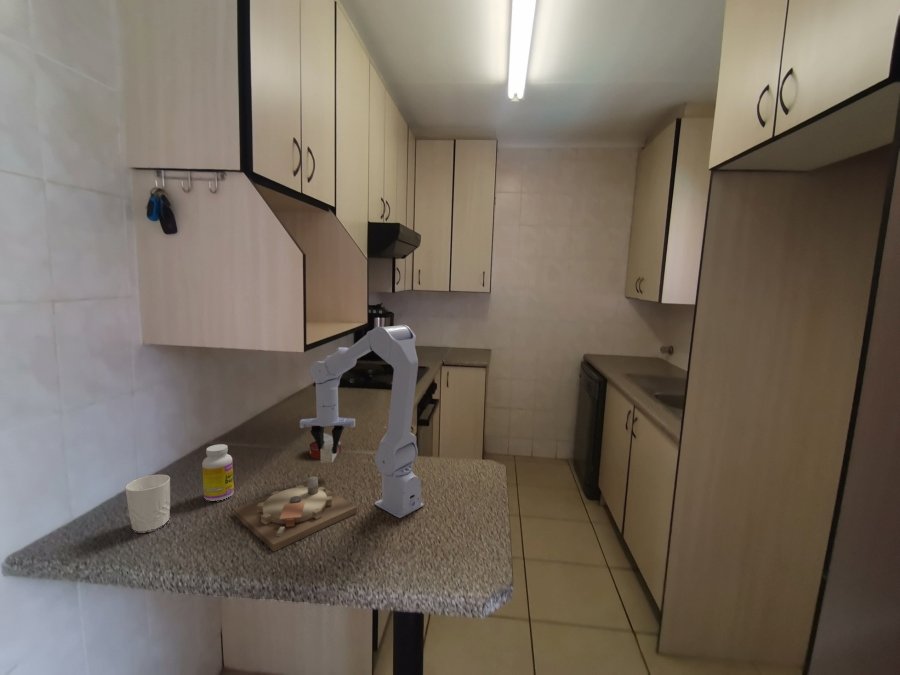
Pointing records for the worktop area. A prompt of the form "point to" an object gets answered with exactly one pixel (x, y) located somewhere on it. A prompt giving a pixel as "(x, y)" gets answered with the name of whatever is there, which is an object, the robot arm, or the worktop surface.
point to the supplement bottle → (217, 473)
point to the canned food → (315, 451)
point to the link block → (327, 453)
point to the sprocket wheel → (295, 504)
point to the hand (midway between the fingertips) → (328, 452)
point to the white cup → (148, 502)
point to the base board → (282, 535)
